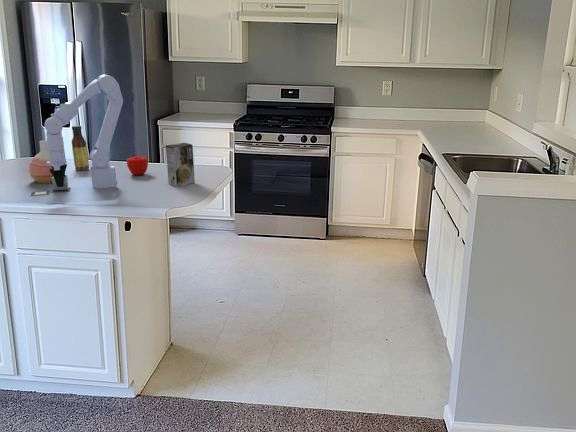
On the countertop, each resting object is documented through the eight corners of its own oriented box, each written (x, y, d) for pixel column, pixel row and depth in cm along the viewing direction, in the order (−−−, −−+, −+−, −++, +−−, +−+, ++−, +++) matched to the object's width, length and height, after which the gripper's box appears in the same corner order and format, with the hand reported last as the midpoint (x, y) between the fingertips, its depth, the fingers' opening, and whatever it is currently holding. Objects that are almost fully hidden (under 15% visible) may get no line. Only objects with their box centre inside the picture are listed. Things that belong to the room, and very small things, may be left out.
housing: (68, 185, 219) (66, 173, 218) (67, 188, 214) (66, 176, 213) (54, 186, 217) (53, 174, 216) (53, 189, 213) (51, 177, 212)
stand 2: (71, 190, 220) (70, 187, 220) (70, 194, 214) (69, 191, 214) (53, 191, 219) (52, 188, 218) (51, 195, 213) (51, 192, 212)
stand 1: (51, 193, 216) (50, 190, 215) (49, 197, 210) (49, 194, 209) (32, 194, 214) (32, 191, 213) (30, 199, 208) (30, 195, 207)
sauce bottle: (92, 169, 258) (87, 125, 253) (81, 171, 253) (76, 127, 248) (83, 167, 262) (78, 124, 256) (71, 169, 257) (66, 126, 251)
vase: (73, 181, 236) (68, 139, 231) (52, 188, 223) (46, 144, 218) (45, 179, 239) (40, 137, 234) (23, 186, 227) (17, 142, 222)
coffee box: (186, 180, 237) (184, 142, 232) (195, 183, 232) (193, 144, 228) (167, 184, 231) (165, 144, 226) (176, 186, 226) (174, 146, 222)
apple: (133, 178, 241) (132, 160, 239) (124, 174, 247) (122, 157, 245) (152, 175, 247) (151, 157, 244) (143, 171, 253) (141, 154, 251)
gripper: (46, 147, 217) (51, 181, 221) (42, 154, 204) (47, 190, 208) (66, 146, 219) (70, 180, 223) (63, 152, 206) (68, 188, 210)
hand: (60, 185), depth 216 cm, fingers closed on housing, 5 cm apart
